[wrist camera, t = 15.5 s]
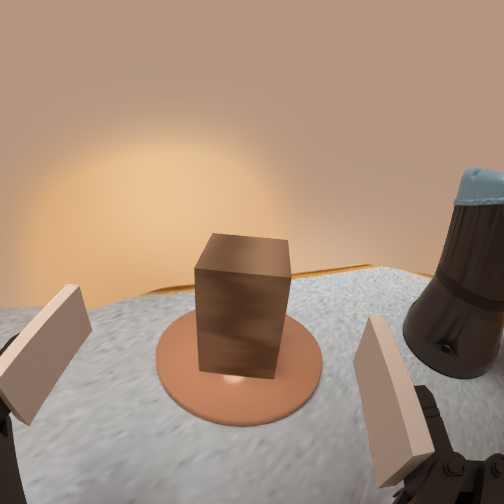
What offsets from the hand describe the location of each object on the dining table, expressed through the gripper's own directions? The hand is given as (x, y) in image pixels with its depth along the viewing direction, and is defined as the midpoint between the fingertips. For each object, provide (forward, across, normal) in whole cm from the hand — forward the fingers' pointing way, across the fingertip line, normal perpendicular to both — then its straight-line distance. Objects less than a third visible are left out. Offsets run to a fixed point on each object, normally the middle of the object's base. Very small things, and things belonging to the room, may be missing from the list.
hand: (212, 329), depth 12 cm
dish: (+12, 0, -14) cm, 19 cm away
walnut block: (+12, 0, -13) cm, 18 cm away
